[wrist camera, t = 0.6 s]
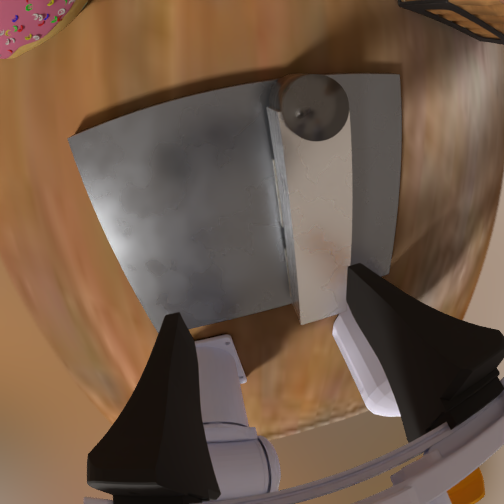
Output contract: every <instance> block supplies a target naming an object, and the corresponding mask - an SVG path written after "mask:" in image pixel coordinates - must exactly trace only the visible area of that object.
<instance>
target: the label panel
mask: <svg viewBox="0 0 504 504" xmlns="http://www.w3.org/2000/svg"><path fill="white" fill-rule="evenodd" d="M319 75H325V76H328V77H330V78H332V79H334V80H335V81H337V82H338V83H339V84H340V85H341V86H342V88H343V89H344V91H345V92H346V94H347V97H348V101H349V112H350V127H351V147H352V242H351V263H350V266H351V265H354V264H358V263H361V264H363V265H364V266H366V267H367V268H369V269H370V270H372V271H373V272H375V273H376V274H377V275H379V276H380V277H381V276H384V275H387V274H389V270H390V264H391V258H392V251H393V244H394V237H395V229H396V220H397V210H398V200H399V187H400V171H401V143H402V113H401V86H400V75H399V74H392V73H336V74H319ZM279 79H280V78H277V79H270V80H263V81H256V82H250V83H244V84H238V85H233V86H228V87H223V88H218V89H213V90H209V91H204V92H200V93H196V94H192V95H188V96H184V97H180V98H176V99H172V100H169V101H165V102H162V103H159V104H155V105H152V106H149V107H146V108H142V109H139V110H136V111H133V112H130V113H127V114H125V115H122V116H119V117H116V118H113V119H111V120H108V121H106V122H103V123H100V124H98V125H95V126H93V127H90V128H88V129H86V130H83V131H81V132H79V133H76V134H74V135H72V136H71V137H69V138H68V141H69V144H70V147H71V150H72V153H73V156H74V159H75V162H76V164H77V167H78V170H79V172H80V175H81V178H82V180H83V183H84V185H85V188H86V190H87V193H88V195H89V198H90V200H91V202H92V205H93V207H94V210H95V212H96V214H97V216H98V219H99V221H100V223H101V225H102V228H103V230H104V232H105V234H106V236H107V239H108V241H109V243H110V245H111V247H112V249H113V251H114V253H115V255H116V257H117V259H118V261H119V263H120V265H121V267H122V269H123V271H124V273H125V275H126V277H127V279H128V281H129V282H130V284H131V286H132V288H133V290H134V292H135V294H136V295H137V297H138V299H139V301H140V303H141V304H142V306H143V308H144V310H145V311H146V313H147V315H148V317H149V318H150V320H151V322H152V323H153V325H154V327H155V328H156V330H157V332H158V333H159V331H160V328H161V325H162V322H163V319H164V317H165V315H168V314H172V313H176V312H180V314H181V316H182V318H183V320H184V322H185V324H186V326H187V328H188V329H191V328H196V327H200V326H204V325H209V324H213V323H217V322H222V321H226V320H230V319H234V318H238V317H242V316H246V315H250V314H254V313H258V312H262V311H266V310H269V309H273V308H277V307H281V306H284V305H288V304H292V296H291V286H290V277H289V268H288V259H287V251H286V242H285V234H284V226H283V218H282V210H281V203H280V195H279V188H278V180H277V173H276V166H275V159H274V152H273V146H272V139H271V132H270V126H269V120H268V113H267V107H268V106H269V95H270V91H271V89H272V87H273V86H274V84H275V83H276V82H277V81H278V80H279Z"/></svg>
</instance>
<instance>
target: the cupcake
mask: <svg viewBox="0 0 504 504" xmlns="http://www.w3.org/2000/svg"><path fill="white" fill-rule="evenodd" d="M87 2H88V0H0V58H1V59H5V58H16V57H18V56H20V55H22V54H23V53H25V52H27V51H29V50H31V49H33V48H35V47H37V46H38V45H40V44H42V43H44V42H45V41H47V40H49V39H50V38H52V37H53V36H55V35H56V34H57V33H59V32H60V31H61V30H63V29H64V28H65V27H66V26H67V25H69V24H70V23H71V22H72V21H73V20H74V19H75V18H76V17H77V16H78V14H79V13H80V11H81V10H82V9H83V8H84V6H85V5H86V4H87Z"/></svg>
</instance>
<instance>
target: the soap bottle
mask: <svg viewBox="0 0 504 504" xmlns="http://www.w3.org/2000/svg"><path fill="white" fill-rule="evenodd" d="M333 336H334V339H335V341H336V343H337V345H338V347H339V349H340V351H341V353H342V355H343V357H344V359H345V361H346V364H347V366H348V368H349V370H350V372H351V374H352V376H353V378H354V381H355V383H356V385H357V387H358V389H359V391H360V394H361V396H362V398H363V400H364V402H365V405H366V407H367V408H368V409H369V410H370V411H371V412H372V413H373V414H377V415H382V416H388V417H394V416H401V415H400V412H399V409H398V406H397V403H396V400H395V397H394V394H393V392H392V389H391V387H390V384H389V382H388V379H387V377H386V375H385V372H384V370H383V368H382V365H381V363H380V362H379V360H378V358H377V356H376V354H375V353H374V351H373V349H372V348H371V346H370V344H369V343H368V341H367V339H366V338H365V336H364V334H363V333H362V331H361V329H360V328H359V326H358V324H357V323H356V321H355V319H354V317H353V315H352V313H351V311H350V308H349V306H348V305H347V311H345V312H342V313H339V315H338V317H337V318H336V320H335V322H334V325H333ZM422 457H423V456H422ZM420 458H421V457H420ZM417 460H418V459H417ZM447 494H448V496H449V498H450V501H451V503H452V504H475V503H476V502H478V501H479V500H481V499H482V498H483V497H484V495H485V488H484V480H483V476H482V473H481V471H480V469H479V467H478V468H477V469H475V470H474V471H473V472H472V473H470V474H469V475H468V476H467V477H465V478H464V479H463V480H461V481H460V482H459V483H457V484H456V485H455V486H453V487H452V488H450V489H449V490H448V491H447Z"/></svg>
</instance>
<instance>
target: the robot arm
mask: <svg viewBox="0 0 504 504" xmlns="http://www.w3.org/2000/svg"><path fill="white" fill-rule="evenodd" d="M346 302H347V304H348V306H349V308H350V311H351V313H352V315H353V317H354V319H355V321H356V323H357V324H358V326H359V328H360V329H361V331H362V333H363V334H364V336H365V338H366V339H367V341H368V343H369V344H370V346H371V348H372V349H373V351H374V353H375V354H376V356H377V358H378V360H379V362H380V363H381V365H382V368H383V370H384V372H385V375H386V377H387V379H388V382H389V384H390V387H391V389H392V392H393V394H394V397H395V400H396V403H397V406H398V409H399V412H400V415H401V418H402V421H403V425H404V429H405V433H406V437H407V440H408V442H409V443H408V444H406V445H404V446H402V447H400V448H398V449H396V450H394V451H392V452H390V453H387V454H385V455H383V456H381V457H379V458H376V459H374V460H372V461H369V462H367V463H364V464H362V465H359V466H357V467H355V468H352V469H349V470H346V471H344V472H341V473H338V474H335V475H332V476H329V477H326V478H323V479H320V480H317V481H313V482H310V483H307V484H303V485H299V486H296V487H292V488H288V489H284V490H280V491H278V488H279V484H280V475H281V474H280V464H279V459H278V456H277V453H276V450H275V448H274V447H273V445H272V444H271V443H270V442H269V441H268V440H267V439H266V438H265V437H264V436H257V432H256V428H255V427H249V424H248V420H247V415H246V410H245V406H244V401H243V396H242V391H241V387H240V384H241V383H245V382H246V381H247V378H246V375H245V373H244V370H243V368H242V365H241V362H240V360H239V357H238V354H237V352H236V349H235V346H234V343H233V341H232V338H231V336H230V335H227V334H226V335H221V336H217V337H212V338H208V339H203V340H199V341H194V339H193V337H192V336H191V334H190V332H189V330H188V328H187V326H186V324H185V322H184V320H183V318H182V316H181V314H180V312H176V313H172V314H168V315H165V317H164V319H163V322H162V325H161V328H160V331H159V334H158V337H157V339H156V342H155V345H154V347H153V350H152V352H151V355H150V358H149V360H148V362H147V365H146V367H145V369H144V371H143V374H142V376H141V378H140V380H139V382H138V384H137V386H136V388H135V390H134V392H133V394H132V396H131V397H130V399H129V401H128V402H127V404H126V406H125V407H124V409H123V411H122V412H121V414H120V415H119V417H118V418H117V420H116V421H115V422H114V424H113V425H112V426H111V428H110V429H109V431H108V432H107V433H106V434H105V436H104V437H103V438H102V439H101V440H100V442H99V443H98V444H97V445H96V446H95V447H94V448H93V449H92V451H91V452H90V453H89V454H88V459H87V484H88V485H89V486H91V487H92V488H95V489H97V490H100V491H103V492H106V493H109V494H112V495H113V501H112V500H107V499H99V498H91V497H84V504H295V503H299V502H303V501H306V500H310V499H313V498H317V497H320V496H323V495H327V494H330V493H333V492H336V491H338V490H341V489H344V488H347V487H350V486H352V485H355V484H357V483H360V482H363V481H365V480H367V479H370V478H372V477H375V476H377V475H379V474H381V473H384V472H385V471H388V470H390V469H392V468H394V467H396V466H399V465H401V464H402V463H404V462H407V461H408V460H410V459H412V458H414V457H416V456H418V455H420V454H421V453H423V452H424V454H423V457H421V458H419V459H418V460H416V461H414V462H412V463H411V464H409V465H407V466H405V467H403V468H402V469H401V470H400V471H398V472H397V473H395V474H393V475H391V481H392V483H393V487H391V488H388V489H386V490H384V491H382V492H379V493H377V494H375V495H373V496H370V497H368V498H365V499H363V500H360V501H357V502H355V503H352V504H452V503H451V501H450V498H449V496H448V494H447V491H448V490H449V489H450V488H452V487H453V486H455V485H456V484H457V483H459V482H460V481H461V480H463V479H464V478H465V477H467V476H468V475H469V474H470V473H472V472H473V471H474V470H475V469H477V468H478V467H479V466H480V465H481V464H482V463H484V462H485V461H486V460H487V459H488V458H489V457H491V456H492V455H493V454H494V453H495V452H496V451H497V450H498V449H499V448H500V447H501V446H502V445H504V377H503V379H501V380H499V379H498V377H497V376H498V375H499V371H498V369H497V366H498V365H499V364H500V362H501V361H502V360H503V358H504V336H503V335H502V333H501V332H500V331H499V330H496V329H491V328H486V327H482V326H478V325H475V324H471V323H468V322H465V321H462V320H459V319H457V318H454V317H452V316H449V315H447V314H444V313H442V312H440V311H438V310H436V309H434V308H432V307H430V306H428V305H426V304H424V303H422V302H420V301H418V300H416V299H415V298H413V297H411V296H410V295H408V294H406V293H405V292H403V291H401V290H400V289H398V288H397V287H395V286H394V285H392V284H391V283H389V282H388V281H386V280H385V279H383V278H382V277H380V276H379V275H377V274H376V273H375V272H373V271H372V270H370V269H369V268H367V267H366V266H364V265H363V264H361V263H358V264H354V265H351V266H348V269H347V290H346Z"/></svg>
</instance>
